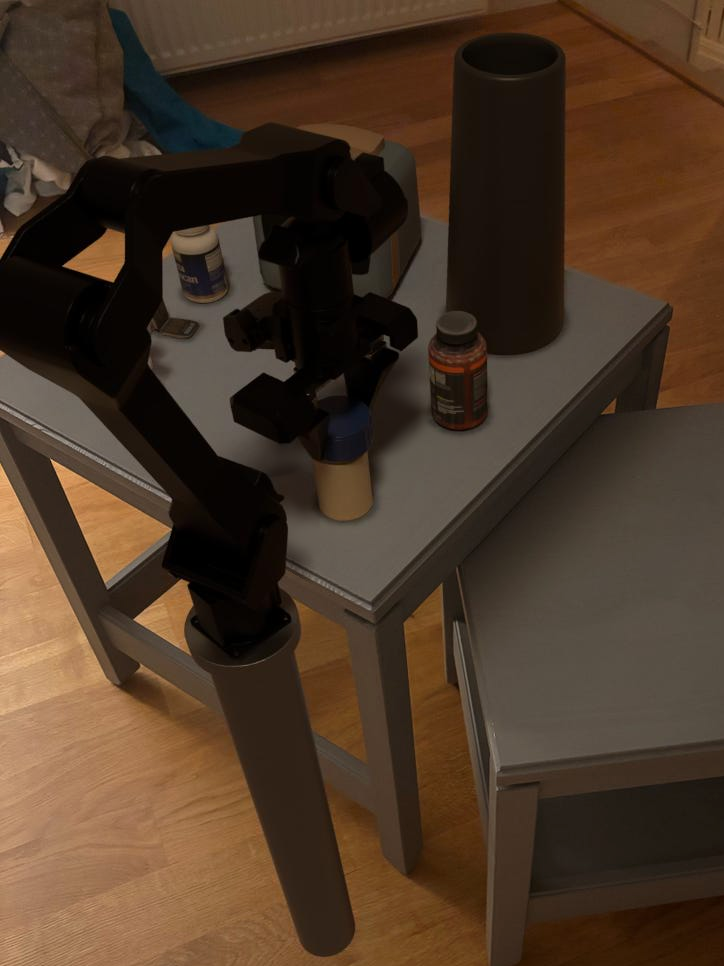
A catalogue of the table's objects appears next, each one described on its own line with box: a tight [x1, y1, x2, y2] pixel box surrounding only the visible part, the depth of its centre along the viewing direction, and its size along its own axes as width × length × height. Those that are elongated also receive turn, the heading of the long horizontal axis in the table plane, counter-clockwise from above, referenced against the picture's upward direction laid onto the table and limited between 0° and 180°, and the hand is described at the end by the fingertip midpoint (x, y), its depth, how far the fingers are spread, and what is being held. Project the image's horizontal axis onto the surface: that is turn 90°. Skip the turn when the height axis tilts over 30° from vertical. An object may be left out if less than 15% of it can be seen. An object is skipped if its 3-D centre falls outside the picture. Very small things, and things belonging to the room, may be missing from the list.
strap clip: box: [150, 297, 200, 339], centre depth 118 cm, size 8×3×4 cm, turn 75°
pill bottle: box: [170, 225, 229, 304], centre depth 121 cm, size 5×5×10 cm
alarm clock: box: [252, 123, 422, 299], centre depth 122 cm, size 16×16×16 cm
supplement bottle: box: [427, 311, 489, 431], centre depth 106 cm, size 6×6×11 cm
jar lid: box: [317, 394, 374, 462], centre depth 95 cm, size 6×6×3 cm
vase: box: [445, 31, 567, 356], centre depth 110 cm, size 14×14×29 cm
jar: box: [311, 451, 373, 522], centre depth 98 cm, size 5×5×10 cm
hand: (338, 441), depth 96 cm, fingers closed on jar lid, 6 cm apart
